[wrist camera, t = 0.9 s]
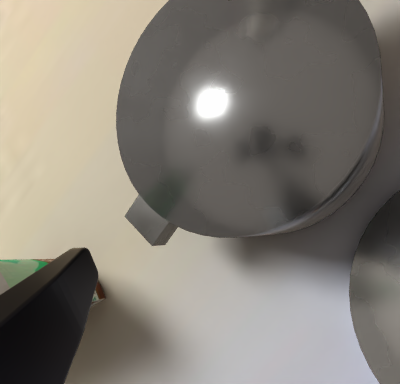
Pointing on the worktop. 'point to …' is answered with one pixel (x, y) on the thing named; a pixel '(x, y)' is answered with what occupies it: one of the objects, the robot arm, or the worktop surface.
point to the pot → (249, 115)
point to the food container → (20, 269)
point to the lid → (379, 293)
